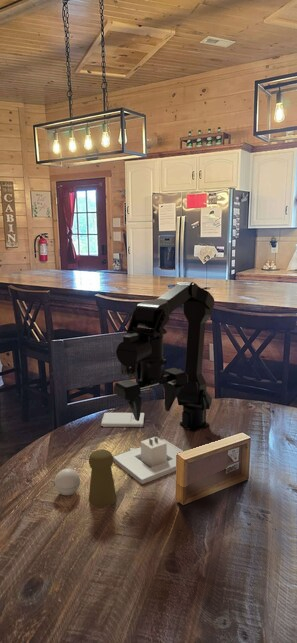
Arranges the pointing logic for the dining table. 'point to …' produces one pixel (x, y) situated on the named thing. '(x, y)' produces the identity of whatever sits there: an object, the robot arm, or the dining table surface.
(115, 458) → the outlet plate
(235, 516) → the dining table surface
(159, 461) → the charger brick
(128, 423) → the external hard drive
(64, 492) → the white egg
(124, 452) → the grey bar
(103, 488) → the olive pawn
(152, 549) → the dining table surface
